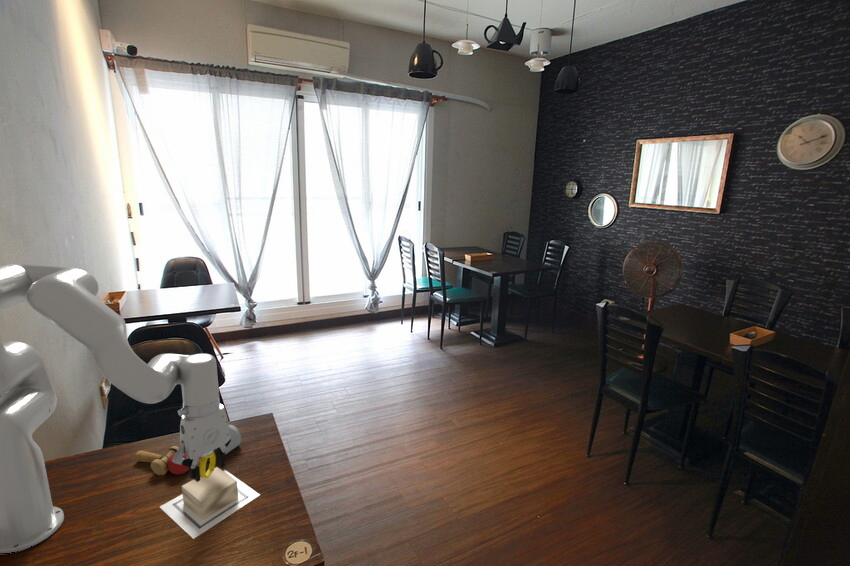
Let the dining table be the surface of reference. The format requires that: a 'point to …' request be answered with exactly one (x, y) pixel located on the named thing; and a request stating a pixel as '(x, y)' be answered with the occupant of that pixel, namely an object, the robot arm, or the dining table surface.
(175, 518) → the mat
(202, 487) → the birch block
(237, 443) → the grey hollow cylinder
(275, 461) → the dining table surface
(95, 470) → the dining table surface
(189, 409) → the robot arm
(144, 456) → the kendama
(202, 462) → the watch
